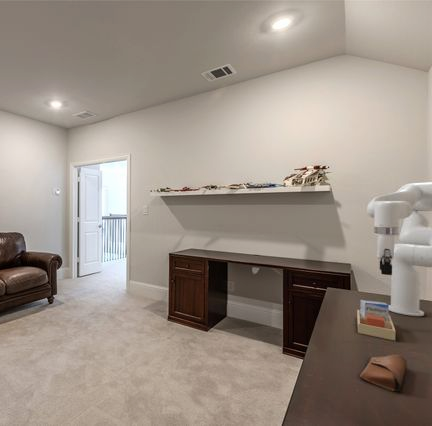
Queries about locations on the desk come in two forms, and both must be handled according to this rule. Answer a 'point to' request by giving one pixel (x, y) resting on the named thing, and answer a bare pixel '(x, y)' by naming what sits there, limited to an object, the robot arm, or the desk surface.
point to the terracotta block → (375, 321)
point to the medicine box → (374, 309)
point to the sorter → (376, 328)
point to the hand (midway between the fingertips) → (385, 272)
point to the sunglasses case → (385, 371)
